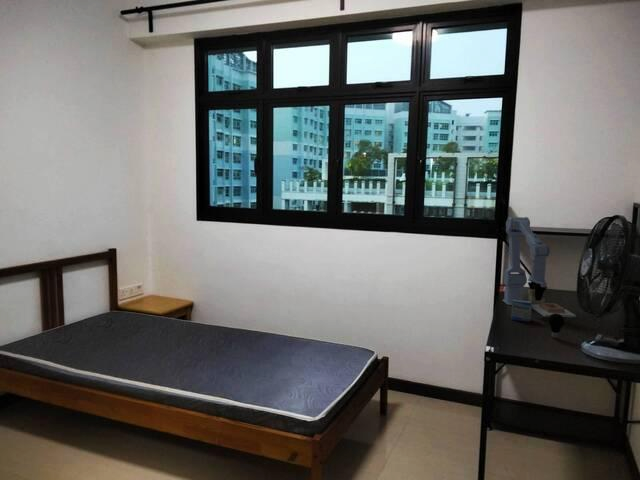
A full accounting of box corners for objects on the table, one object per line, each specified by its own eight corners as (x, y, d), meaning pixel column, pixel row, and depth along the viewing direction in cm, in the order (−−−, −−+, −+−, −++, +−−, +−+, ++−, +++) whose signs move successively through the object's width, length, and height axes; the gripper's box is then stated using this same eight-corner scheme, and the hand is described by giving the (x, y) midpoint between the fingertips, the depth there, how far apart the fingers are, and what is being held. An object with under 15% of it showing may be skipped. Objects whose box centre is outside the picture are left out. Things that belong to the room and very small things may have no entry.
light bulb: (548, 334, 191) (550, 310, 189) (564, 338, 187) (566, 313, 186) (545, 338, 186) (546, 313, 185) (561, 341, 182) (563, 316, 181)
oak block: (527, 301, 219) (528, 288, 219) (540, 301, 219) (541, 289, 218) (531, 303, 215) (531, 290, 215) (544, 304, 215) (545, 291, 214)
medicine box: (511, 319, 211) (512, 300, 210) (512, 317, 215) (513, 298, 214) (530, 322, 208) (531, 303, 207) (530, 319, 212) (532, 301, 210)
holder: (529, 306, 235) (529, 300, 234) (557, 307, 234) (558, 301, 234) (544, 316, 217) (545, 310, 216) (575, 317, 216) (576, 311, 216)
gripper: (523, 267, 223) (521, 295, 224) (535, 273, 208) (533, 302, 210) (538, 267, 222) (536, 295, 224) (552, 273, 208) (549, 303, 210)
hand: (536, 299), depth 217 cm, fingers closed on oak block, 4 cm apart
